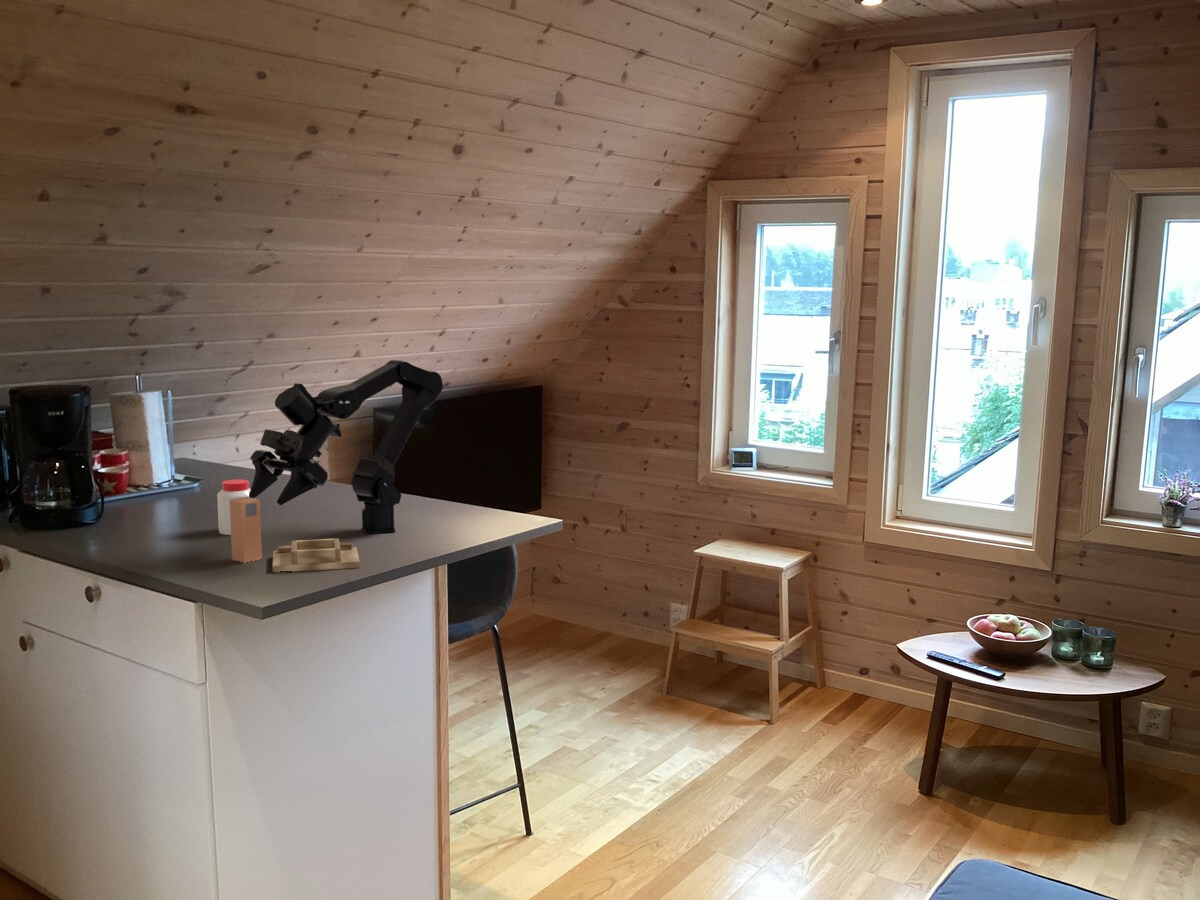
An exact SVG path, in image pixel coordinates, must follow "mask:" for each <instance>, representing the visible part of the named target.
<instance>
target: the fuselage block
mask: <svg viewBox="0 0 1200 900" xmlns="http://www.w3.org/2000/svg"><path fill="white" fill-rule="evenodd" d="M260 500H261V499H259V498H256V497H255V498H250V497H244V498H238V499H233V500H230V520H231V535H230V537H231V541H230V542H231V560H232V559H233V560H232V561H234V560H236V561H235V562H237V561H240V562H239V563H241V562H243V563H242V564H247V563H246V562H249V563H251V562H250V561H253V562H256V561H255V560H257V561H261V560H260V559H263V557H262V556H263V554H262V552H263V549H262V526H261V525H262V523H261V520H262V519H261V501H260Z"/></svg>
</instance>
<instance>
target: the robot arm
mask: <svg viewBox="0 0 1200 900" xmlns="http://www.w3.org/2000/svg"><path fill="white" fill-rule="evenodd" d="M396 383H397V384H399V385H400V386H401V403H400V405H399V406H398V409H397V411H396V412H395V414H394V416H393V418H392V420H391V422H390V423H389V425H388V428H387V429H386V431H385V433H384V435H383V436H382V439H381V441H380V442H379V445H378V447H376V450H375V452H374V453H373V455H372V456H371V457H370V458H363V457H362V458H360V459H359V461H358V463H357V466H356V468H355V469H354V471H352V473H351V474H352V479H351V482H350V483H351V486H352V491H353V492H354V493H355V496H356V498H357V502H362V503H363V507H361V511H360V513H361V514H360V516H361V529H362V530H364V533H365V534H377V533H380V534H381V533H395V532H396V528H395V507H394V506H395V505H398V504H400V502H401V498H402V493H401V492H400V491H399V490H398V489H397V488H396V487H395V486H394V485H393V483H394V482H395V477H396V475H395V464H396V462H397V461H398V458H400V454H401V453H402V450H403V449H404V447H405V445H406V443H407V441H408V439H409V438H410V436H411V434H412V431H413V430H414V428H415V427H416V426H415V425H416V423H417V422H418V420H419V418H420V416H421V415H422V412H423V411H424V410H426V408H428V407H430V405H432V404H433V403H434V402H435V401H436V400H437V399H438V397H439V396H440V394H441V393H442V391H443V387H444V384H443V379H442V377H441V375H440V374H439V373H438V372H437V371H432V370H431V371H430V370H426V369H423V368H421V367H418V366H415V365H413V364H412V363H410V362H407V361H406V360H401V359H400V360H399V359H398V360H397V359H391V360H389V361H388V362H386V363H385V364H384V365H381V366H380V367H378V368H376V369H375V370H372V371H371V372H369V373H368V374H366V375H363V376H362V377H359V378H358V379H356V380H354V381H353V382H351V383H348V384H345V385H337V386H333V387H330V388H326V389H324V390H321V391H320V392H319V394H318V395H317V396H312V394H311V393H309V392H308V390H307V388H306V387H305V386H304V384H302V383H297V382H296V383H294V384H293V385H292V387H289V388H286V389H285V390H284V391H282V392H281V393H279V394H278V395H277V397H276V399H275V401H274V406H275V407H276V409H278V410H279V411H280V412H281V414H282V415H283V416H284V417H285V418H286V419H287V420H288V421H289V422H290V423H291V424H292V425H294V426H300V427H299V429H297V431H295V430H294V431H293V430H290V429H286V430H285V431H283V432H282V431H277V430H273V429H267V428H266V429H264V431H263V434H262V438H261V440H260V444H259V445H261V446H262V447H263V446H264V447H265V446H266V447H267V448H270V449H273V450H274V451H273V453H272V451H269V450H263V449H257V450H255V451H254V452H253V453H252V454H251V456H250V457H249V459H250V460H251V462H252V465H253V466H254V469H255V472H254V476H253V477H254V478H253V482H252V483H251V484H252V485H251V487H250V489H251V490H250V493H249V497H250V498H255V499H256V498H257V497H258V496H260V495H261V494H262V493H264V492H265V491H266V490H267V489H269V487H270V486H272V485H273V484H274V483H276V482H277V481H278V480H279V478H278V477H280V476H281V475H282V474H283V472H284V471H286V472H290V478H289V480H288V482H287V483H286V485H285V486H284V488H283V490H282V491H281V493H280V494H279V496H278V498H277V500H276V503H277V504H278V505H279V506H282V505H284V504H286V503H288V502H290V501H292V500H293V499H295V498H297V497H298V496H301V495H304V494H305V493H307V492H309V491H312V490H313V489H318V486H319V487H320V486H321V487H324V485H325V484H326V483H327V481H328V479H329V477H328V475H329V474H328V472H327V471H326V469H325V468H324V467H323V466H322V465H321V464H320V463H319V462H318V461H317V460H316V459H315V458H320V457H321V456H322V454H323V453H322V452H321V451H320V450H321V448H322V447H323V446H324V444H325V443H326V442H327V440H328V439H329V437H336V438H341V436H342V432H341V425H340V423H335V422H333V421H332V419H340V420H346V419H349V418H350V417H351V416H353V415H354V414H355V413H356V412H358V410H360V408H361V407H362V404H363V403H364V402H365V401H367V400H368V399H369V398H371V397H373V396H375V395H377V394H379V393H381V392H382V391H384V390H386V389H387V388H390V387H391V386H393V385H395V384H396ZM330 418H332V419H330ZM275 455H276V456H275ZM278 457H279V458H278Z"/></svg>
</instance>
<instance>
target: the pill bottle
mask: <svg viewBox="0 0 1200 900" xmlns="http://www.w3.org/2000/svg"><path fill="white" fill-rule="evenodd" d="M221 484H222V485H221V486H222V489H220V491H218V493H217V495H216V496H217V519H218V522H217V523H218V533H219V534H221V535H226V536H231V520H230V500H233V499H238V498H244V497H249V493H250V490H251V487H250V481H249V480H247V479H240V478H239V479H236V478H235V479H229V480H228V479H227V480H223V481H222V482H221Z"/></svg>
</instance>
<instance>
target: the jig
mask: <svg viewBox="0 0 1200 900" xmlns="http://www.w3.org/2000/svg"><path fill="white" fill-rule="evenodd" d="M360 567H361V561H360V555H359V552H358V549H357V546H352V542H350V541H349V542H340V539H339V538H338V537H337V538H335V537H334V538H321V539H320V538H319V539H318V538H317V539H300V540H297V539H296V540H291V545H278V550H273V555H272V573H273V572H275V573H281V572H280V571H283V572H282V573H285V572H284V571H292V572H304V571H323V570H324V571H325V570H338V569H342V570H343V569H355V568H357V569H358V568H359V569H360Z"/></svg>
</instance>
